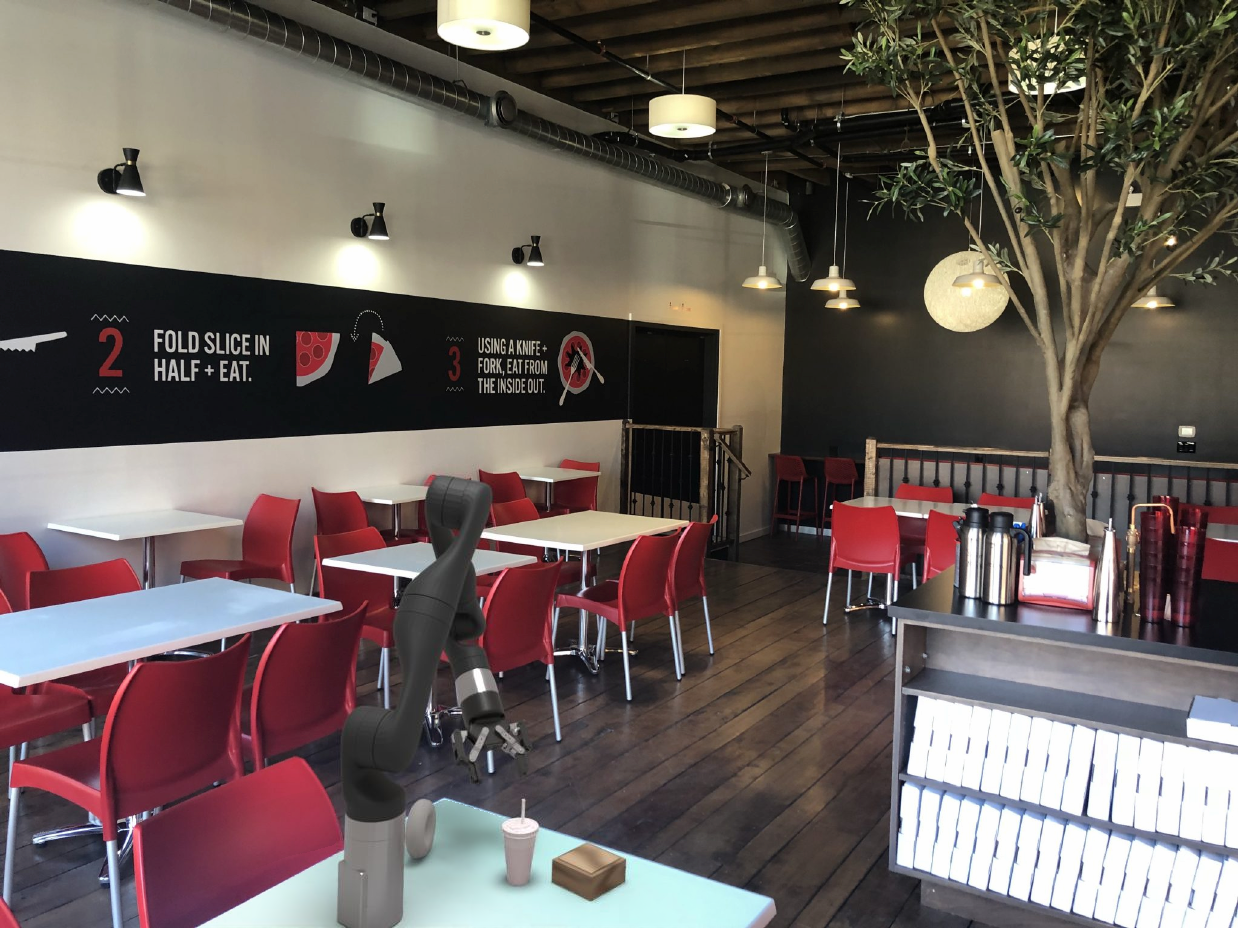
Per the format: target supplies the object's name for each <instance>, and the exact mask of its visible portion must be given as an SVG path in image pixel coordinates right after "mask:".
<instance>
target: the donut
mask: <svg viewBox="0 0 1238 928" xmlns="http://www.w3.org/2000/svg"><path fill="white" fill-rule="evenodd" d="M436 814H437V813H436V809H435V806H434V804H433V802H432V801H431V800H429V799H425V798H420V799H418V800H417V801H416V802H415V803H413V804H412V807H411V808H410V811H409V813H408V815H407V818H406V819H407V820H406V822H405V848H406V849H405V850H406V852H407V853H408V855H409V856H410V857H411V858H413V859H422V858H424V857H425V856H426V855H427V854H428V853H429V851H430V849H431V847H432V845H433V842H434V837H435V833H436V828H437V827H436V823H437V819H436V818H437V815H436Z"/></svg>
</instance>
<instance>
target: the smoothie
mask: <svg viewBox="0 0 1238 928" xmlns="http://www.w3.org/2000/svg"><path fill="white" fill-rule="evenodd" d="M525 810H526V798H522V799H521V814H520V817H514V818H510V819H507V820H505V821H504V822H503V823H502V824H501V830H500V831H501V834H502V835H503V844H504V856H505V865H506V866H505V868H506V877H507V878H506V879H507V883H508V884H509V885H512V886H516V887H517V886H518V887H519V886H524V885H527V884H528V883H529V882H530V875H531V870H532V864H533V858H534V852H535V847H536V846H535V845H536V841H537V840H536V839H537V835H538V834H539V831H540V830H539V823H538V822H537V821H536V820H534V819H532V818H528V817H525V814H526V811H525Z"/></svg>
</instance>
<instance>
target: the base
mask: <svg viewBox="0 0 1238 928" xmlns="http://www.w3.org/2000/svg"><path fill="white" fill-rule="evenodd" d="M626 871H627V858H625V857H623V856H620V855H618V854H616V853H613V852H610V851H608V850H607V849H603V848H601V847H600V846H597V845H595V844H592V843H590V842H587V841H586V842H585V843H583V844H581V845H578V846H577V847H574V848H572V849H571V850H568V851H567V852H565V853H562V854H561V855H558V856H557V857H554V858H553V859H552V860H551V880H550V881H551V884H555V885H557V886H559V887H561V888H563V889H565V890H567V891H568V892H571V893H573V894H575V895H578V896H580V897H581V898H584V899H585V900H588V901H590V902H592V901H594V900H595V899H597V898H599V897H601V896H602V895H604V894H606V893H607V892H610V891H611V890H613V889H614V888H616V887H618V886H620V885H622V884H624V883H626V875H627V874H626ZM623 882H624V883H623Z"/></svg>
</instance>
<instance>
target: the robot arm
mask: <svg viewBox="0 0 1238 928" xmlns="http://www.w3.org/2000/svg"><path fill="white" fill-rule="evenodd" d="M492 504H493V489H492V488H491V486H490V485H489V484H488V483H485V482H482V481H477V480H472V479H467V478H462V477H457V476H451V475H442V474H440V475H437V476H435V477H434V478H433V479H432V480H431V482H430V483H429V484H428V488H427V490H426V493H425V499H424V518H425V521H426V526H427V527H426V528H427V530H428V534H429V538H430V542H431V545H432V549H433V554H434V557H435V561H433V562H431V564H429V565H428V566H427V567H425V568H424V569H423V570H422V571H421V572H420V573H418V575H416V576H415V577H414V578H413V579H412V580H411V581H410V582H409V583H408V584H407V586H406V587H405V589H404V591H403V593H402V596H401V599H400V602H399V604H398V605H399V606H398V607H397V610H396V611H397V612H396V613H395V616H394V619H393V626H392V634H393V640H394V646H395V649H396V651H397V652H396V653H397V656H398V660H399V664H400V668H401V676H402V678H401V686H400V687H401V689H400V693H399V697H398V700H397V704H396V707H395V709H392V708H385V707H377V706H372V705H371V706H370V705H360V706H356V708H354V709H353V710H352V711H350V713H349V714H348V715H347V718H346V719H345V722H344V724H343V727H342V732H341V736H340V775H341V777H340V778H341V797H342V799H343V800H342V801H343V803H344V810H345V811H344V842H343V843H344V844H343V845H344V846H343V848H344V849H343V859H341V860H339V862H338V864H337V901H336V902H337V905H336V906H337V907H336V921H337V922H339V923H340V924H342V925H343V926H345V927H347V928H392V927H393V926H395V925H397V924H398V923H399V922H400V921H401V919H402V918H403V915H404V884H405V883H404V882H405V855H406V854H405V850H406V849H405V848H406V844H405V830H406V821H407V820H406V819H407V818H406V816H407V814H406V813H407V809H406V808H407V794H406V791H405V789H404V787H402V785H400V783H397V782H396V781H394V780H393V779H392V778H390V777H389V775H387V774H386V773H391V774H399V773H402V772H404V771H406V769H408V768H409V766H410V765H411V763H412V762H413V760H414V757H415V754H416V752H417V750H418V748H419V744H420V740H421V736H422V733H423V728H424V723H425V718H426V715H427V710H428V706H429V701H430V698H431V697H430V696H431V692H432V689H433V686H434V685H433V683H434V681H435V677H436V673H437V670H438V667H439V664H440V660H441V657H442V654H443V653H444V655H445V657H446V659H447V661H448V663H449V665H450V668H451V671H452V675H453V680H454V682H455V688H456V696H457V703H458V704H459V706H460V711H461V716H462V718H463V719H462V720H463V722H464V726H465V730H461V729H460V728H456V729H454V731H453V732H452V734H451V736H450V742H451V747H452V752H453V758H454V759H453V760H454V763H455V765H456V766H457V767H460V766H464V767H466V768H467V771H468V775H469V779H470V781H471V784H474V786H475V787H480V786H481V785H482V783H483V778H482V773H481V769H480V765H479V762H478V761H476V760H477V758H478V756H479V753H480V752H483V753H484V754H485V753H488V752H490V751H493V752H494V751H495V752H496V751H499V750H500V749H501V750H502V751H503V752H504V753H506V754H509V755H510V756H511V757H513V758H514V761H513V762H514V764H515V768H516V770H517V771H516V772H517V775H518V778H519V779H525V777H526V776H527V775H528V772H529V767H528V762H527V760H526V756H527V755H528V754H529V753H530V751H531V750H532V749H533V743H532V740H531V738H530V735H529V732H528V730H527V726H526V724H525V721H524V720H523V719H519V720H518V721H517V722H513V723H508V722H509V721H507V719H506V714H505V710H504V706H503V704H502V703H503V702H502V700H501V697H500V693H499V689H498V686H497V683H496V680H495V678H494V675H493V673H492V670H491V667H490V664H489V659H488V656H487V653H486V651H485V649H484V648H483V646H481V645H478V644H464V643H463V642H468V641H474V640H477V639H479V638H481V637H483V635H484V633H485V631H486V630H487V629H486V628H487V621H486V618H485V617H486V616H485V615H484V612H483V609H482V608H481V606H480V603H479V600H478V596H477V573H476V572H477V571H476V568H475V566H474V563H473V561H472V560H473V558H474V555H475V553H476V549H477V547H478V545H479V541H480V539H481V537H482V535H483V533H484V529H485V527H486V524H487V522H488V519H489V516H490V512H491V509H492ZM453 530H454V531H458V533H457V535H456V536H455V534H454V532H453ZM510 732H511V733H512V734H513V736H516V738H517V739H515V738H514V737H513V736H512V735H511V734H510ZM466 739H467V741H468V742H470V743H471V744H472V748H471V751H470V753H469V755H467V754H466V751H465V748H464V747H465V746H464V742H465V740H466Z"/></svg>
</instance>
